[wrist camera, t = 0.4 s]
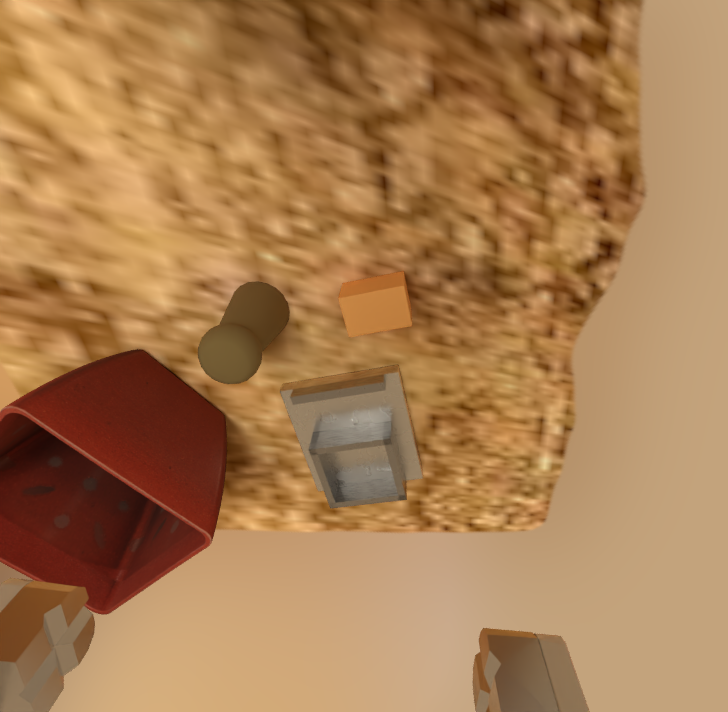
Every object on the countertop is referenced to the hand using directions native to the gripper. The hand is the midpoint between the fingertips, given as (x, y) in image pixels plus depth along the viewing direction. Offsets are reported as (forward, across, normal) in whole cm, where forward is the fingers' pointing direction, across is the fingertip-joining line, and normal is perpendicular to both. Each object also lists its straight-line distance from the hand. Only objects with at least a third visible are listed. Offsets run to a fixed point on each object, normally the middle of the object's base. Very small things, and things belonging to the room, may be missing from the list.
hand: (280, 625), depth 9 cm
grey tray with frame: (+39, +1, +20) cm, 44 cm away
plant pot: (+39, +25, +20) cm, 50 cm away
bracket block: (+37, 0, +3) cm, 38 cm away
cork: (+38, +12, +6) cm, 40 cm away
